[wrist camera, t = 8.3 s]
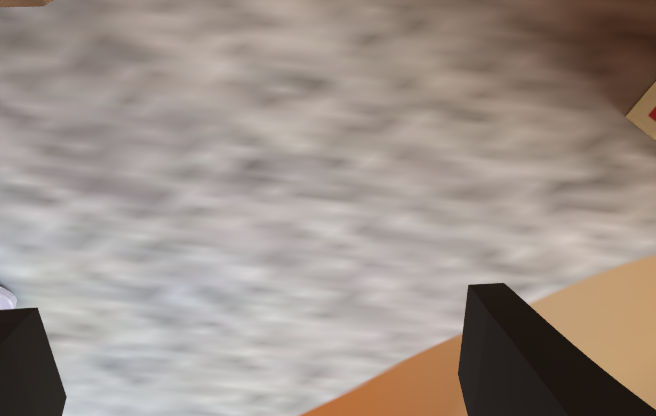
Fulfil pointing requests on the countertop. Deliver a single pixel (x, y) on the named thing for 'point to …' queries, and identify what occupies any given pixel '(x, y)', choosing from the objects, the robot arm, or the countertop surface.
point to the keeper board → (23, 3)
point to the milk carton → (645, 112)
